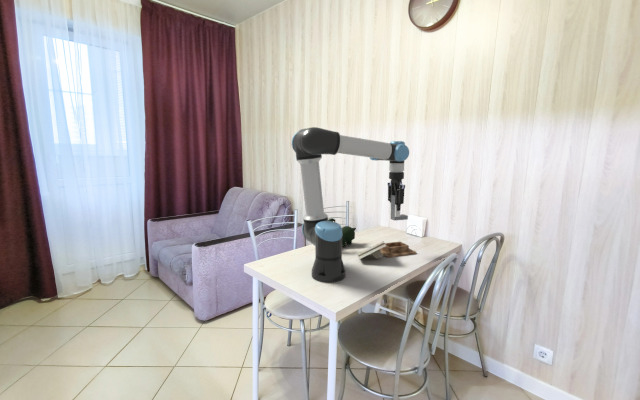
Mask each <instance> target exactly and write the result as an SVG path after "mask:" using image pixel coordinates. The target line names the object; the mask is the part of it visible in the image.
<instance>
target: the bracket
mask: <svg viewBox="0 0 640 400" xmlns="http://www.w3.org/2000/svg"><path fill="white" fill-rule="evenodd" d="M395 204H396V195H391V215H390V220H392V221H404V220H405V221H406V220H408V219H409V216H408V215H407V214H401V213H400V217H395Z"/></svg>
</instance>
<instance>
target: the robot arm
mask: <svg viewBox="0 0 640 400" xmlns="http://www.w3.org/2000/svg"><path fill="white" fill-rule="evenodd" d="M291 146H292V151H294V153H295V158H296V161H297V162H298V163H299V164H300V173H301V174H300V175H301V181H302V191H303V198H304V199H303V201H304V208H305V214H304V216H303V218H302V219H303V223H302V224H301V225H302V226H301V233H302V236H303V237H304V239H305V240H306V241H308V242H309V243H310V244H312V245H313V246H314V247H315V259H314V262H313V265H312V268H311V277H312V278H313V279H314V280H316V281H319V282H322V283H334V282H339V281H342V280H343V279H345V277H346V271H347V270H346V268H345V264H344V261H343V246H342V235H343V233H342V227H343V226H342V225H341V224H340V223H338V222H336V221H335V222H334V221H333V222H332V221H328V220H329V215H328V214H327V213H326V212H325V211H324V198H323V190H322V179H321V170H320V161H321V160H322V158H323V157H322V155H331V156H335V155H337V154H342V155H351V156H355V157H357V156H358V157H364V158H365V157H366V158H369V159H370V160H371V161H387V162H388V161H389V165H388V166H389V167H388V171H389V172H388V179H389V180H390V182H387V201H388V202H389V204H390V206H389V209H390V210H389V216H391V195H396V204H395V217H400V215H401V206H402V205H403V204H405V203H404V202H405V200H404V199H405V188H406V185H405V184H403V182H402V181H403V179H405V172H404V171H405V161H406V160H408V158H409V157H410V149H409V147H408V146H407V145H406V143H405V141H403V140H397V141H395V140H394V141H393V140H391V141H390V142H384V141H378V140H372V139H366V138H361V137H354V136H348V135H343V134H341V133H339V132H338V131H333V130H328V129H324V128H321V127H318V126H317V127H315V126H313V127H308V128H302V129H299V130H298V131H297V132H295V134H294V135H293V136H292V139H291Z"/></svg>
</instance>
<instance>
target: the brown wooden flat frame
mask: <svg viewBox="0 0 640 400" xmlns="http://www.w3.org/2000/svg"><path fill="white" fill-rule="evenodd" d="M384 243H385V244H386V246H385V247H383V248H381V249H380V251H381V253H382V255H383V257H386V258H388V259H389V258H394V257H402V256H410V255H411V256H412V255H417V251H415V250H413V249H411V248H410V246H409V245H408V244H406V243H404V242H402V241H393V242H384Z"/></svg>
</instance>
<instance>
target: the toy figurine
mask: <svg viewBox="0 0 640 400" xmlns="http://www.w3.org/2000/svg"><path fill="white" fill-rule="evenodd" d="M328 221H332V222H336V219H335V218H334V217H332V218H331V217H330V218H328ZM341 227H342V233H343V235H342V247H346V246H347V245H351V244H352V243H353V240H355V238H356V233H355V231H356V230H357V229H356V227H351V226H349V225H345V226H341Z"/></svg>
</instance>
